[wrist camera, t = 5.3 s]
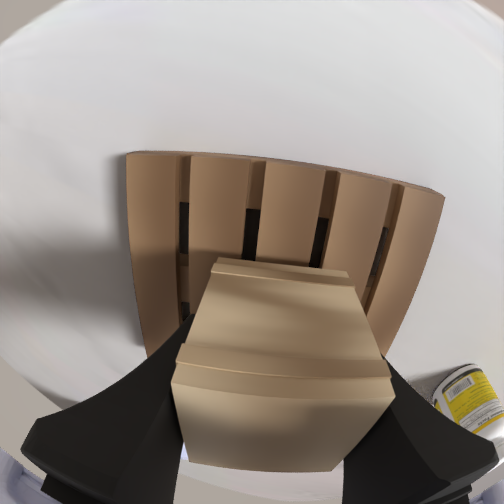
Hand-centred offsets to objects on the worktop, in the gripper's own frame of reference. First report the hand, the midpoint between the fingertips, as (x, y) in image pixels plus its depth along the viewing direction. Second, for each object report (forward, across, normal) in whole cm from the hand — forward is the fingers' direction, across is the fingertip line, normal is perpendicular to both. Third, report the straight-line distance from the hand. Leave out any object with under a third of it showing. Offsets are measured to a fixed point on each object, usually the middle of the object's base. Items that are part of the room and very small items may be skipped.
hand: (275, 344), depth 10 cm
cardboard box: (+2, 0, 0) cm, 2 cm away
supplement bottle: (+5, -18, +9) cm, 21 cm away
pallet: (+4, 0, 0) cm, 4 cm away
